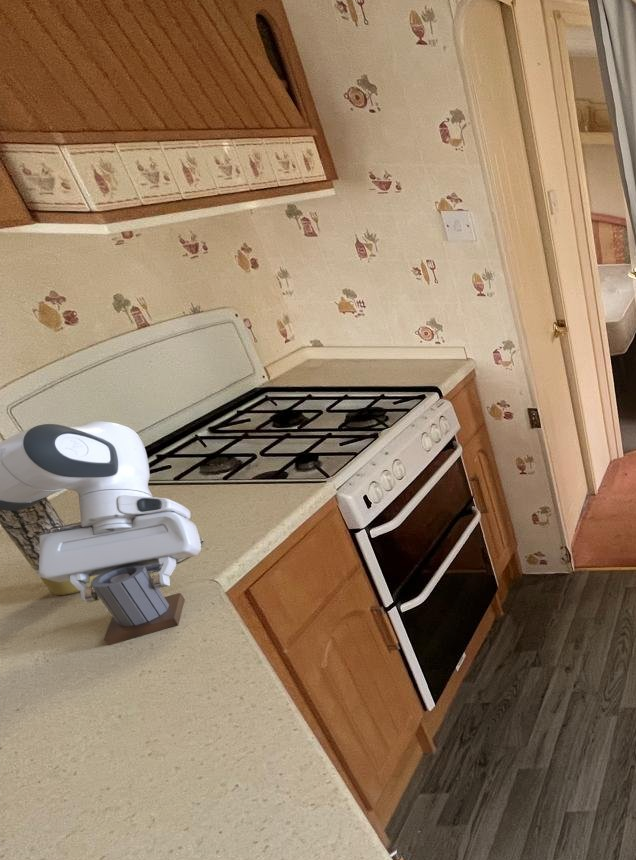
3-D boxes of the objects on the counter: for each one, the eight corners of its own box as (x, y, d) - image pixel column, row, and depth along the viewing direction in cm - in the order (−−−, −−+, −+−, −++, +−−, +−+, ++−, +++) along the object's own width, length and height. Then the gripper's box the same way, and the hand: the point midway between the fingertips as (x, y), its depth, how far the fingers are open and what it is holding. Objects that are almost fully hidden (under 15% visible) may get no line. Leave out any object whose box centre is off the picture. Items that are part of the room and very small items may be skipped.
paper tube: (66, 599, 121) (-27, 474, 108) (44, 593, 123) (-50, 469, 110) (110, 579, 126) (27, 457, 113) (88, 573, 128) (4, 452, 115)
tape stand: (108, 645, 109) (76, 600, 104) (119, 617, 116) (89, 574, 111) (178, 625, 113) (150, 581, 109) (185, 599, 120) (158, 556, 115)
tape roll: (114, 631, 110) (86, 591, 106) (122, 611, 115) (95, 572, 110) (166, 616, 113) (140, 577, 109) (171, 597, 118) (146, 559, 113)
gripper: (23, 523, 107) (30, 606, 104) (179, 497, 114) (189, 574, 111) (54, 534, 113) (61, 613, 110) (201, 508, 120) (211, 582, 117)
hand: (126, 593), depth 111 cm, fingers open, 8 cm apart
